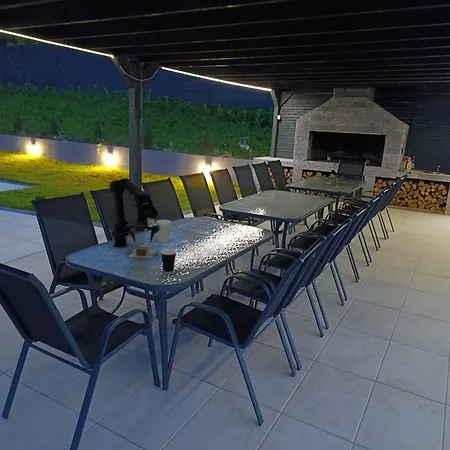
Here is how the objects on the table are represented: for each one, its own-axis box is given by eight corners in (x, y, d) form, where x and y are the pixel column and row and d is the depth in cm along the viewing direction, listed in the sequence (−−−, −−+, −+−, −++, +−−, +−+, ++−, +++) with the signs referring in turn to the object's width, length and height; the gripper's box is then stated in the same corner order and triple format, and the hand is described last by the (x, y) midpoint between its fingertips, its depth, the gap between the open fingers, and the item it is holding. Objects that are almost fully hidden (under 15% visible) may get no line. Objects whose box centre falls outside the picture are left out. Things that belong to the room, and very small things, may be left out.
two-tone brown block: (140, 250, 232) (140, 245, 231) (148, 250, 232) (148, 245, 231) (136, 255, 222) (136, 250, 222) (145, 256, 222) (145, 251, 221)
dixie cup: (178, 274, 200) (178, 253, 197) (162, 275, 197) (162, 254, 194) (173, 268, 207) (174, 248, 204) (158, 270, 204) (158, 249, 201)
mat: (128, 257, 221) (128, 256, 221) (134, 250, 234) (134, 249, 233) (151, 258, 221) (151, 257, 221) (156, 251, 234) (156, 250, 233)
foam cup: (158, 243, 249) (158, 223, 246) (154, 239, 257) (154, 220, 254) (173, 242, 254) (173, 222, 250) (168, 238, 261) (168, 219, 258)
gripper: (121, 218, 214) (122, 245, 218) (156, 219, 214) (156, 247, 217) (127, 213, 225) (127, 240, 229) (160, 215, 225) (160, 241, 228)
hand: (142, 242), depth 225 cm, fingers open, 9 cm apart
